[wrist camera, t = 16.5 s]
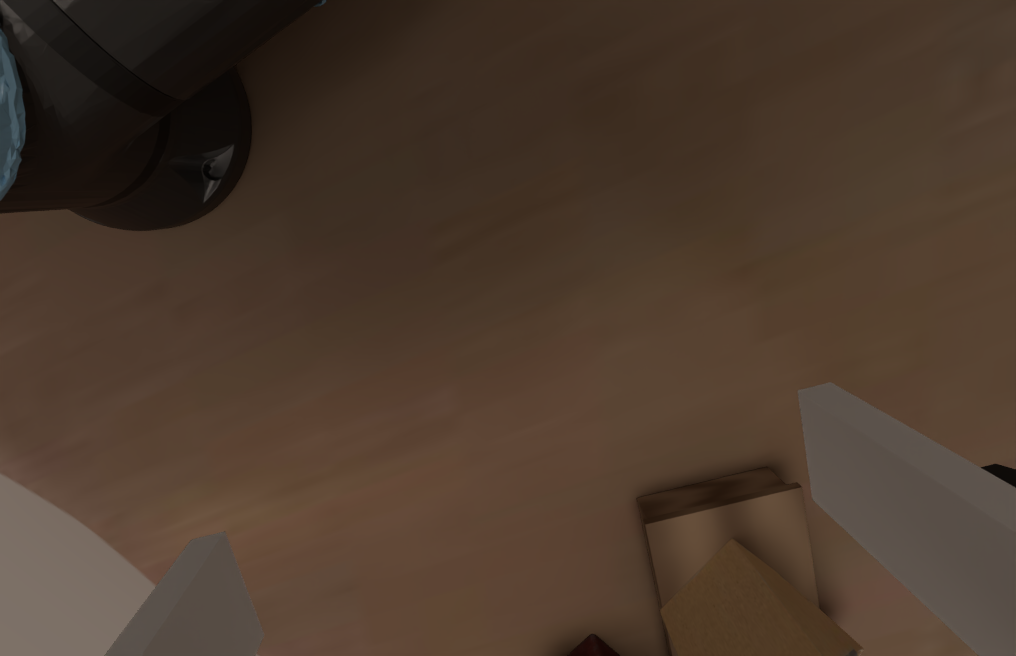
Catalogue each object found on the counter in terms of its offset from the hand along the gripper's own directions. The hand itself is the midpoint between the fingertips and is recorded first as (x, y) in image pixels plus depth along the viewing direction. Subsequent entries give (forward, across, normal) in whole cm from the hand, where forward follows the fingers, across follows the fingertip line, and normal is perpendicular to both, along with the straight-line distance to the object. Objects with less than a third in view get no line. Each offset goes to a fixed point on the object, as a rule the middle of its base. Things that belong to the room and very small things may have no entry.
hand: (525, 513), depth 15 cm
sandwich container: (+30, +15, -32) cm, 46 cm away
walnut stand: (+35, +13, -30) cm, 48 cm away
